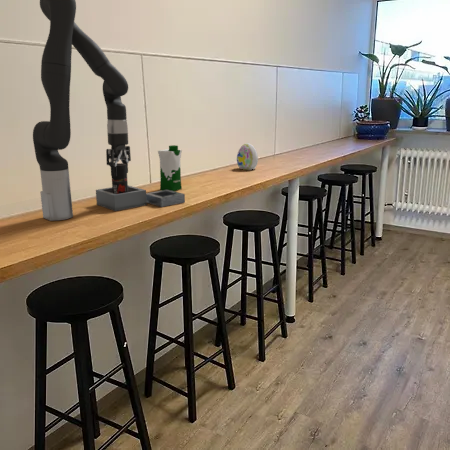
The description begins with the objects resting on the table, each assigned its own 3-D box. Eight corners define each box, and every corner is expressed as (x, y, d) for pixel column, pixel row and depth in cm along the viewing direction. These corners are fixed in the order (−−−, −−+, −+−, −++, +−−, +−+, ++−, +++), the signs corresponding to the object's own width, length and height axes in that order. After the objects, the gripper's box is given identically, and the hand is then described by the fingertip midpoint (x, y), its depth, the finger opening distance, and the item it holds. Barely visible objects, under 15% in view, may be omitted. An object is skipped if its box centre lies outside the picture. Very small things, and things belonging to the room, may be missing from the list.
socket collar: (161, 207, 175) (161, 198, 174) (144, 202, 183) (144, 193, 182) (184, 202, 182) (184, 193, 181) (167, 197, 190) (167, 189, 189)
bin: (115, 211, 168) (114, 195, 167) (96, 204, 178) (95, 189, 176) (146, 205, 178) (146, 190, 176) (127, 199, 187) (126, 185, 186)
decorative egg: (232, 168, 263) (232, 142, 259) (247, 166, 271) (247, 141, 267) (247, 171, 254) (247, 144, 250) (262, 169, 262) (262, 143, 258)
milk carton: (172, 192, 200) (171, 147, 195) (157, 190, 205) (155, 145, 199) (184, 189, 208) (183, 145, 202) (168, 186, 212) (167, 144, 206)
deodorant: (130, 201, 180) (128, 163, 176) (125, 204, 174) (123, 165, 170) (116, 200, 181) (114, 163, 176) (111, 204, 175) (108, 165, 171)
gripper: (118, 130, 178) (120, 171, 182) (98, 132, 164) (101, 176, 169) (135, 131, 176) (137, 172, 180) (117, 133, 162) (119, 178, 167)
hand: (119, 174), depth 174 cm, fingers open, 8 cm apart
